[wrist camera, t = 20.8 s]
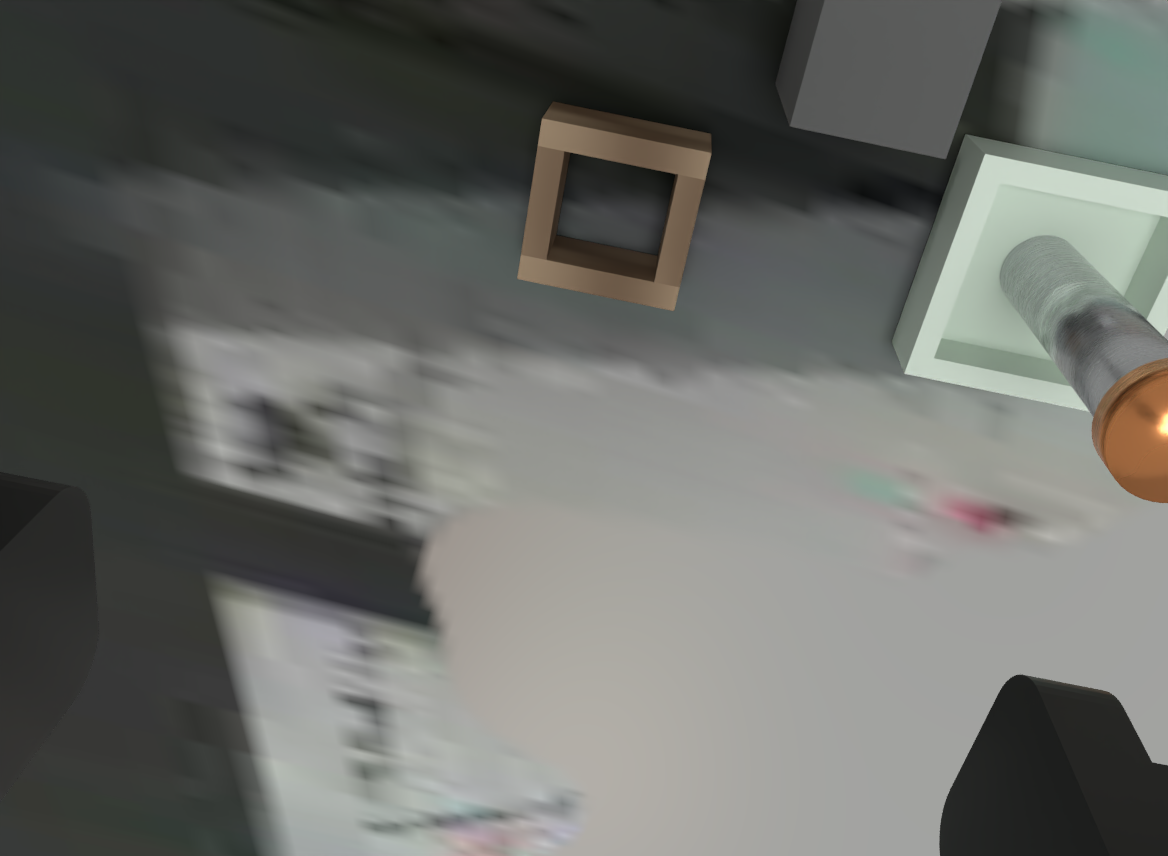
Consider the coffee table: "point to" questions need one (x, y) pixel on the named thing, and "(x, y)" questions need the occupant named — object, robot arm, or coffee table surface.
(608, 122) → the pin socket
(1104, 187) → the tray
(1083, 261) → the pin
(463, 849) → the coffee table surface
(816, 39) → the block
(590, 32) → the coffee table surface
